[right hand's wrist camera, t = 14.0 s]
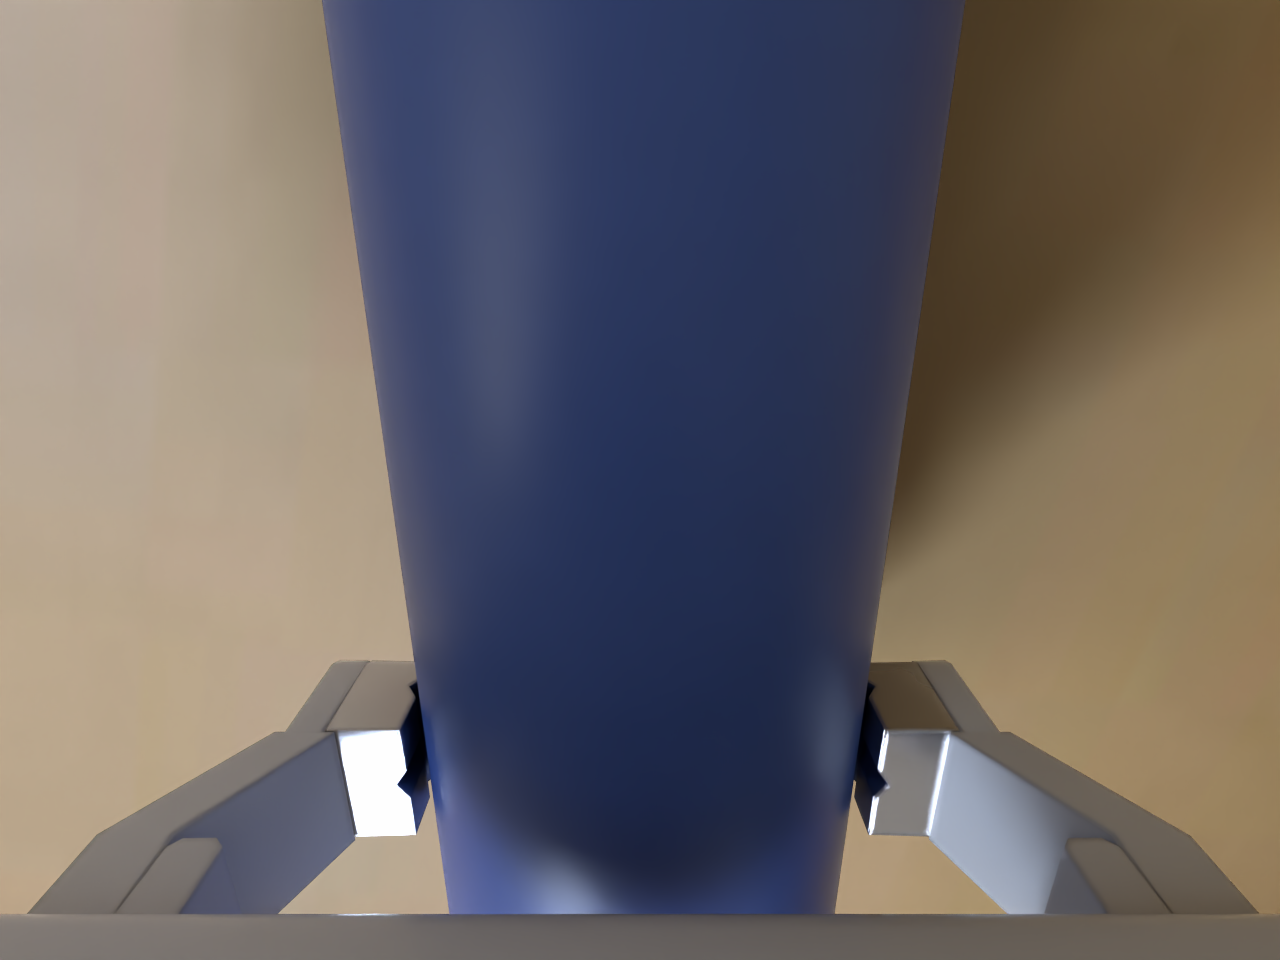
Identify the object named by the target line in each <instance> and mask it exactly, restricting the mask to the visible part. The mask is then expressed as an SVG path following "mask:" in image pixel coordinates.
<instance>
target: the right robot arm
mask: <svg viewBox="0 0 1280 960" xmlns="http://www.w3.org/2000/svg"><path fill="white" fill-rule="evenodd" d="M430 779H431V777H430V770H429V762H428V755H427V748H426V741H425V734H424V727H423V719H422V712H421V705H420V698H419V691H418V684H417V676H416V669H415V662H414V661H338V662H336V663H333V664H332V665H331V666H330V668H329V669H328V671H327V672H326V674H325V675H324V676H323V678H322V679H321V681H320V682H319V684H318V685H317V687H316V688H315V689H314V691H313V692H312V694H311V695H310V697H309V698H308V699H307V701H306V702H305V704H304V705H303V707H302V708H301V710H300V711H299V712H298V714H297V715H296V717H295V718H294V720H293V721H292V723H291V724H290V725H289V727H288V728H287V730H286V731H285V732H274V733H272V734H270V735H269V736H267V737H265V738H263V739H262V740H260V741H258V742H257V743H255V744H253V745H251V746H250V747H248V748H246V749H244V750H243V751H241V752H239V753H237V754H236V755H234V756H232V757H231V758H229V759H227V760H225V761H224V762H222V763H220V764H218V765H217V766H215V767H213V768H212V769H210V770H208V771H206V772H205V773H203V774H201V775H199V776H198V777H196V778H194V779H192V780H191V781H189V782H187V783H186V784H184V785H182V786H180V787H179V788H177V789H175V790H173V791H172V792H170V793H168V794H167V795H165V796H163V797H161V798H160V799H158V800H156V801H154V802H153V803H151V804H149V805H147V806H146V807H144V808H142V809H141V810H139V811H137V812H135V813H134V814H132V815H130V816H128V817H127V818H125V819H123V820H122V821H120V822H118V823H116V824H115V825H113V826H111V827H109V828H108V829H106V830H104V831H102V832H101V833H99V834H97V835H96V836H95V837H94V838H93V840H92V841H91V842H90V843H89V844H88V845H87V846H86V848H85V849H84V850H83V851H82V852H81V853H80V854H79V855H78V857H77V858H76V859H75V860H74V861H73V862H72V863H71V865H70V866H69V867H68V868H67V869H66V870H65V871H64V872H63V874H62V875H61V876H60V877H59V878H58V879H57V880H56V882H55V883H54V884H53V885H52V886H51V887H50V888H49V889H48V891H47V892H46V893H45V894H44V895H43V896H42V897H41V899H40V900H39V901H38V902H37V903H36V904H35V905H34V906H33V908H32V909H31V910H30V911H29V912H28V913H27V914H0V960H1280V914H1259V913H1258V912H1257V910H1256V909H1255V908H1254V907H1253V906H1252V905H1251V904H1250V903H1249V901H1248V900H1247V899H1246V898H1245V897H1244V896H1243V895H1242V893H1241V892H1240V891H1239V890H1238V889H1237V888H1236V887H1235V886H1234V884H1233V883H1232V882H1231V881H1230V880H1229V879H1228V878H1227V877H1226V875H1225V874H1224V873H1223V872H1222V871H1221V870H1220V869H1219V868H1218V866H1217V865H1216V864H1215V863H1214V862H1213V861H1212V860H1211V859H1210V857H1209V856H1208V855H1207V854H1206V853H1205V852H1204V851H1203V850H1202V848H1201V847H1200V846H1199V845H1198V844H1197V843H1196V842H1195V840H1194V839H1193V838H1192V837H1191V836H1190V835H1188V834H1186V833H1184V832H1183V831H1181V830H1179V829H1178V828H1176V827H1174V826H1172V825H1171V824H1169V823H1167V822H1165V821H1164V820H1162V819H1160V818H1158V817H1157V816H1155V815H1153V814H1151V813H1150V812H1148V811H1146V810H1145V809H1143V808H1141V807H1139V806H1138V805H1136V804H1134V803H1132V802H1131V801H1129V800H1127V799H1125V798H1124V797H1122V796H1120V795H1119V794H1117V793H1115V792H1113V791H1112V790H1110V789H1108V788H1106V787H1105V786H1103V785H1101V784H1099V783H1098V782H1096V781H1094V780H1092V779H1091V778H1089V777H1087V776H1086V775H1084V774H1082V773H1080V772H1079V771H1077V770H1075V769H1073V768H1072V767H1070V766H1068V765H1066V764H1065V763H1063V762H1061V761H1059V760H1058V759H1056V758H1054V757H1053V756H1051V755H1049V754H1047V753H1046V752H1044V751H1042V750H1040V749H1039V748H1037V747H1035V746H1033V745H1032V744H1030V743H1028V742H1027V741H1025V740H1023V739H1021V738H1020V737H1018V736H1016V735H1014V734H1013V733H1011V732H999V730H998V729H997V727H996V726H995V725H994V723H993V722H992V720H991V719H990V718H989V716H988V715H987V713H986V712H985V711H984V709H983V708H982V706H981V705H980V703H979V702H978V701H977V699H976V698H975V696H974V695H973V694H972V692H971V691H970V689H969V688H968V687H967V685H966V684H965V682H964V681H963V680H962V678H961V677H960V675H959V674H958V672H957V671H956V670H955V668H954V667H953V665H952V664H951V663H949V662H947V661H946V660H931V661H912V662H870V669H869V676H868V683H867V690H866V697H865V704H864V711H863V718H862V725H861V732H860V739H859V746H858V753H857V760H856V767H855V774H854V780H855V781H856V788H855V795H854V797H855V800H856V803H857V805H858V808H859V811H860V813H861V816H862V819H863V821H864V824H865V827H866V829H867V832H868V834H869V835H900V836H930V837H929V840H930V841H931V842H932V843H933V844H935V845H936V846H937V847H938V848H939V849H940V850H941V851H942V852H943V853H944V854H945V855H946V856H947V857H948V858H949V859H950V860H951V861H952V862H954V863H955V864H956V865H957V866H958V867H959V868H960V869H961V870H962V871H963V872H964V873H965V874H966V875H967V876H968V877H969V878H970V879H971V880H972V881H974V882H975V883H976V884H977V885H978V886H979V887H980V888H981V889H982V890H983V891H984V892H985V893H986V894H987V895H988V896H989V897H990V898H991V899H993V900H994V901H995V902H996V903H997V904H998V905H999V906H1000V907H1001V908H1002V909H1003V910H1004V911H1005V912H1006V913H1007V914H278V913H279V912H280V911H281V910H282V909H283V908H284V907H285V906H286V905H287V904H288V903H289V902H290V901H291V900H292V899H294V898H295V897H296V896H297V895H298V894H299V893H300V892H301V891H302V890H303V889H304V888H305V887H306V886H307V885H308V884H309V883H310V882H311V881H312V880H313V879H315V878H316V877H317V876H318V875H319V874H320V873H321V872H322V871H323V870H324V869H325V868H326V867H327V866H328V865H329V864H330V863H331V862H332V861H333V860H335V859H336V858H337V857H338V856H339V855H340V854H341V853H342V852H343V851H344V850H345V849H346V848H347V847H348V846H349V845H350V844H351V843H352V842H353V841H354V840H355V836H384V835H416V833H417V830H418V828H419V825H420V822H421V819H422V817H423V814H424V811H425V809H426V806H427V803H428V800H429V798H430V795H429V787H428V781H429V780H430Z"/></svg>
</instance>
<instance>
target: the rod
mask: <svg viewBox="0 0 1280 960" xmlns="http://www.w3.org/2000/svg"><path fill="white" fill-rule="evenodd" d="M322 3H323V11H324V18H325V25H326V32H327V39H328V46H329V53H330V61H331V68H332V75H333V82H334V89H335V96H336V104H337V111H338V118H339V125H340V132H341V139H342V147H343V154H344V161H345V168H346V175H347V182H348V190H349V197H350V204H351V211H352V218H353V225H354V233H355V240H356V247H357V254H358V261H359V268H360V275H361V283H362V290H363V297H364V304H365V311H366V318H367V326H368V333H369V340H370V347H371V354H372V361H373V369H374V376H375V383H376V390H377V397H378V404H379V412H380V419H381V426H382V433H383V440H384V447H385V455H386V462H387V469H388V476H389V483H390V490H391V497H392V505H393V512H394V519H395V526H396V533H397V540H398V548H399V555H400V562H401V569H402V576H403V583H404V591H405V598H406V605H407V612H408V619H409V626H410V634H411V641H412V648H413V655H414V662H415V669H416V676H417V684H418V691H419V698H420V705H421V712H422V719H423V727H424V734H425V741H426V748H427V755H428V762H429V770H430V777H431V784H432V791H433V798H434V805H435V813H436V820H437V827H438V834H439V841H440V848H441V856H442V863H443V870H444V877H445V884H446V891H447V898H448V906H449V913H450V914H834V913H835V906H836V899H837V892H838V885H839V878H840V871H841V864H842V857H843V850H844V844H845V837H846V830H847V823H848V816H849V809H850V802H851V795H852V788H853V781H854V774H855V767H856V760H857V753H858V746H859V739H860V732H861V725H862V718H863V711H864V704H865V697H866V690H867V683H868V676H869V669H870V662H871V655H872V648H873V641H874V634H875V627H876V620H877V613H878V606H879V599H880V592H881V585H882V578H883V571H884V565H885V558H886V551H887V544H888V537H889V530H890V523H891V516H892V509H893V502H894V495H895V488H896V481H897V474H898V467H899V460H900V453H901V446H902V439H903V432H904V425H905V418H906V411H907V404H908V397H909V390H910V383H911V376H912V369H913V362H914V355H915V348H916V341H917V334H918V327H919V320H920V313H921V306H922V299H923V292H924V285H925V279H926V272H927V265H928V258H929V251H930V244H931V237H932V230H933V223H934V216H935V209H936V202H937V195H938V188H939V181H940V174H941V167H942V160H943V153H944V146H945V139H946V132H947V125H948V118H949V111H950V104H951V97H952V90H953V83H954V76H955V69H956V62H957V55H958V48H959V41H960V34H961V27H962V20H963V13H964V6H965V0H322Z"/></svg>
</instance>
